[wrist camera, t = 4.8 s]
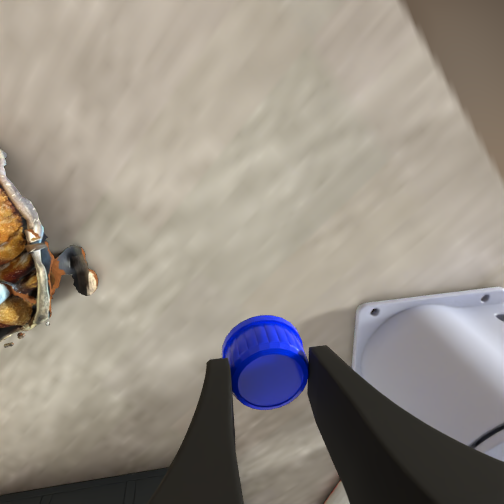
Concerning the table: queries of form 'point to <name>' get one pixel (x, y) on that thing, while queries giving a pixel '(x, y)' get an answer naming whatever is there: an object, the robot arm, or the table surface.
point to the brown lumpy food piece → (31, 264)
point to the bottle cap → (266, 362)
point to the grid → (95, 491)
